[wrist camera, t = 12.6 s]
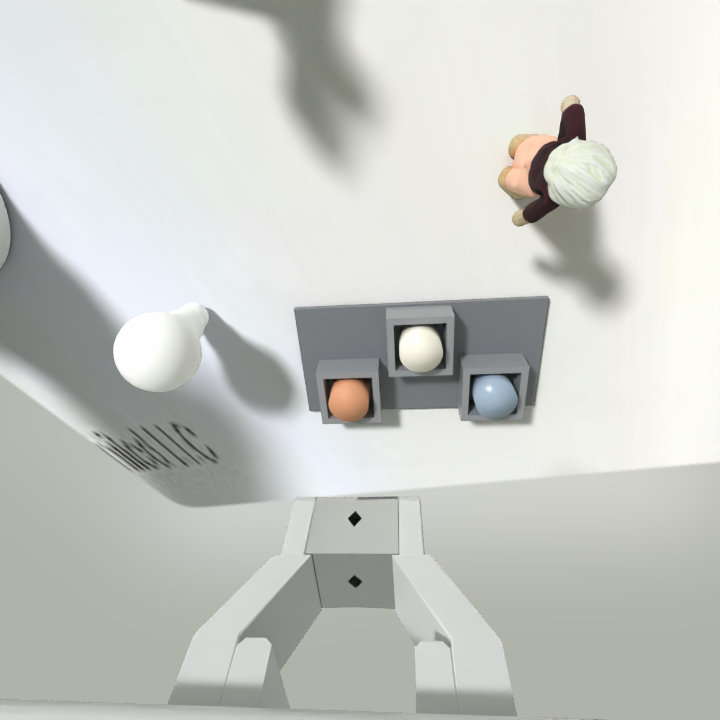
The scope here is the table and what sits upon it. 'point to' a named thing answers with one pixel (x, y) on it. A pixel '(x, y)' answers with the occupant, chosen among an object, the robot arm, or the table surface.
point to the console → (432, 388)
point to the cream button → (420, 347)
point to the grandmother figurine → (558, 167)
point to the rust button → (349, 398)
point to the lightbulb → (161, 348)
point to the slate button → (493, 394)
